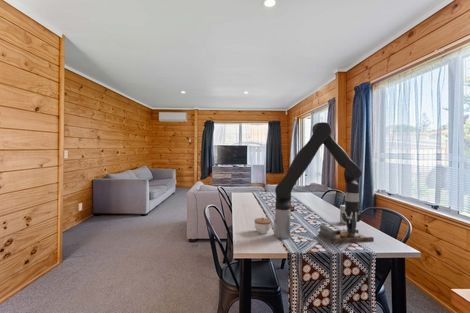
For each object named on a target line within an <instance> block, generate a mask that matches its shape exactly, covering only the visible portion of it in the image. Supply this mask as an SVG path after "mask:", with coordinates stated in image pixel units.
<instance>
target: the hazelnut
mask: <svg viewBox="0 0 470 313" xmlns="http://www.w3.org/2000/svg"><path fill="white" fill-rule="evenodd" d="M340 238H348V232H347V231H340Z"/></svg>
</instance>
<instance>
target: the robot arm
mask: <svg viewBox="0 0 470 313" xmlns="http://www.w3.org/2000/svg"><path fill="white" fill-rule="evenodd" d="M331 133H332V127H331V124H330V123H328V122H326V121H325V122H324V121H321V122H316V123H315V124H314V125H313V126H312V134H311V137H310V138H309V140H308V141H307V142H306V144H304V145H303V147H302V148H301V149H300V150H299V151H298V152H297V154H295V157H294V158H293V160H292V161H291V163H290V165H289V168H288V170H287V172H286V174H285V176H284V177H283V178H282V180H281V181H280V182H279V183H278V184H277V185H276V186H275V189H274V191H275V192H274V193H275V205H274V208H275V211H274V214H275V215H274V218H275V219H273V235H274V237H275V238H276V239H282V240H284V239H285V240H286V239H290V238H291V215H292V214H291V212H292V211H291V210H292V208H291V207H292V206H291V205H292V190H293V189H294V186H295V185H296V183H297V181H298V180H299V179H300V178H301V177H302V175H304V173H305V171H306V170H307V169H308V167H309V166H310V165H311V162H313V159H314V158H315V156H316V154H317V153H318V151H319V149H320V148H321V146H322V145H324V147H325V148H326V149H327V150H328V152H329V153H330V154H331V156H332V157H333V158H334V160H335V161H336V163H337V164H338V165H339V166H340V167H341V168H343V169H344V171H343V178H344V183H345V196H344V205H345V211H344V212H343V213H342V212H341V216H342V218H343V220H344V221H345V222H347V224H346V229H347V228H348V229H351V219H352V218H353V219H355V220H356V224H357V223H358V222H359V223H360V221H361V219H362V217H363V215H364V212H362V211H360V210H359V208H360V185H359V183H358V182H357V180H358V179H360V178H361V177H362V169H361V168H360V166H359V165H358V164H356V163H355V161H353V160H352V159H351V158H350V156H349V155H348V154H347V152H346V151H345V150H344V149H343V148H342V147H341V146H340V145H339V144H338V143H337V142H336V140H335V139H334V138H333V136H332V135H331ZM356 179H357V180H356ZM346 214H347V216H346Z"/></svg>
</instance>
